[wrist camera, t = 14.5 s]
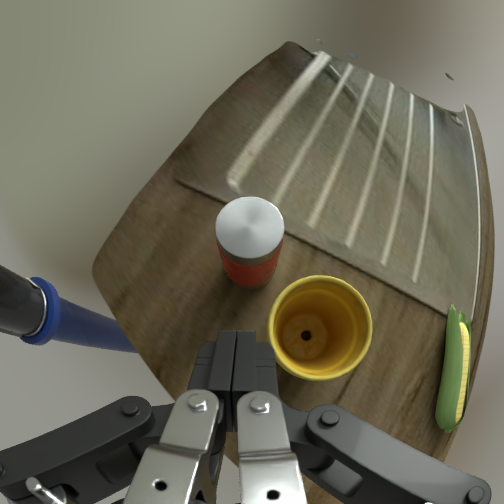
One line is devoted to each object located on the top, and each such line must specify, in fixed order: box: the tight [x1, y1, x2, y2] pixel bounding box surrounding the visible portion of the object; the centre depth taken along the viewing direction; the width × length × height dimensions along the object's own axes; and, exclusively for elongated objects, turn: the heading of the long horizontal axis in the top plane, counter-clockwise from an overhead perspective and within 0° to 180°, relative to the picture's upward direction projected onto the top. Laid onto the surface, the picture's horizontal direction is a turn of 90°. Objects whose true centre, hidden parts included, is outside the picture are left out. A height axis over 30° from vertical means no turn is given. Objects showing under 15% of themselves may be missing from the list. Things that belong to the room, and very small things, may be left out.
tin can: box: [215, 197, 284, 290], centre depth 32 cm, size 7×7×12 cm
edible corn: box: [435, 304, 471, 432], centre depth 29 cm, size 5×20×5 cm, turn 170°
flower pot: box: [266, 276, 372, 381], centre depth 29 cm, size 10×10×10 cm
